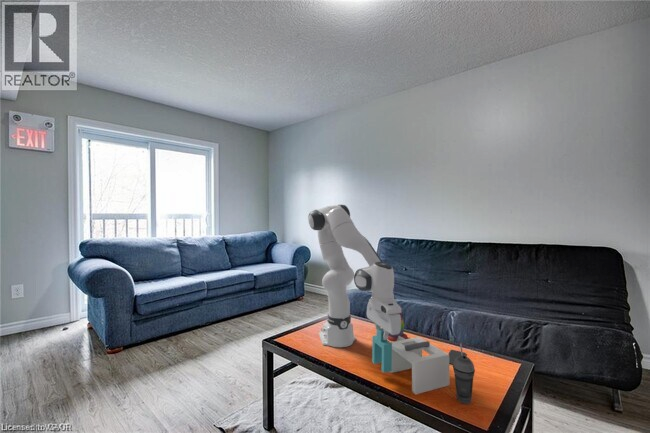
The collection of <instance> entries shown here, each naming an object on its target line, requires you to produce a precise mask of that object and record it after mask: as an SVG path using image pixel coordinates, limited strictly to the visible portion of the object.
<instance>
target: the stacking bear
mask: <svg viewBox="0 0 650 433" xmlns="http://www.w3.org/2000/svg"><path fill="white" fill-rule="evenodd" d="M402 311H403V309H401V313H399V314H400V316H401V331H400V333H399V334H396V335H391V334H390V333H389V334H388V339H387V340H388V341H389V342H395V341H397V338H398V336H400V337H402V338H404V339H409V338H408V335H407V334H406V333H404V331H405V323H404V319H403V316H402Z"/></svg>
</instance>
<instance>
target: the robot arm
mask: <svg viewBox="0 0 650 433" xmlns="http://www.w3.org/2000/svg"><path fill="white" fill-rule="evenodd" d="M307 219H308V224H309V227H310V228H311V229H312V230H313V231H317V238H318V243H319V247H320V252H321V255H322V259H323V260H324V262H326V264H327V266H328V268H329V270H328V271H326V273H325V274H324V275H323V276H322V279H321V285H322V287H323V289H324V290H325V291H326V295H327V299H328V313H327V320H326V321H325V322H324V323H323V324H322V327H321V328H320V329H321V330H320V331H319V332H318V336H319V339H320V341H321V344H322V346H328V347H333V348H347V347H349V346H352V345H353V343H354V342H355V341H356V340H357V337H356V336H355V335H354V326H353V323H352V317H351V314H350V313H351V310H350V308H351V304H350V303H351V302H350V301H351V300H350V299H349V298H348V293H347V286H349V285H350V284H352V282H354V285H355V287H356V288H357V289H358V290H359V291H364V292H371V296H370V298H368V302H367V305H366V317H367V319H369V320H370V321H371V322H373V323H374V326H375V330H376V332H375V334H376V335H377V329H380V328H383V329H384V330H383V331H384V334H382V338H383V339H384V340H388V334H389V333H390V334H391V335H396V334H399V333H400V331H401V317H402V315H400V314H399V313H401V310H402V306H400V305H399V304H398V303H397V301H396V300H395V295H394V288H395V271H394V268H393V266H392V265H391V264H390V263H388V262H384V261H383V260H382V259H381V258H380V256H379V255H378V253H377V251H376V250H375V248H374V247H373V245H372V244H371V243H370V241H369V240H368V239H367V238H366V237H365V235H362V233H361V232H360V231H359V230H358V228H357V227H356V225H355V223H354V222H353V219H352V218H351V212H350V209H349V208H348V206H347V205H345V204H337V205H329V206H326V207H322V208H319V209H313V210H312V211H309V213H308V216H307ZM343 248H346V249H349V250H353V251H356V252H358V253H360V255H362V256H363V258H364V260H365V261H366V263H367V265H368V266H367V267H366V266H365V267H361V268H359V269H357V270H356V271H355V272H354V270H353V268H352V267H351V266H350V265H349V263H348V261H347V258H346V256H345V254H344V251H343ZM401 314H402V313H401Z"/></svg>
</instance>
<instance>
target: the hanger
mask: <svg viewBox="0 0 650 433" xmlns="http://www.w3.org/2000/svg"><path fill="white" fill-rule="evenodd" d="M383 330H384V329H383V328H381V327H380V329H377V334H376V335H372V344H371V345H372V350H371V352H372V354H371V356H372V357H371V360H372V362H371V363H373V364H374V365H375V364H380V363H381V372H382V373H384V374H385V373H391V372H390V371H392V343H391V342H392V341H390V340H388V339H387V340H384V339H383V338H382V334H384V331H383Z"/></svg>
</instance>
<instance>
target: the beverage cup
mask: <svg viewBox="0 0 650 433" xmlns="http://www.w3.org/2000/svg"><path fill="white" fill-rule="evenodd" d="M459 346H460V352H461V356H458V357H457V358H456V359H455V360H454V362H453V365H452V368H453V373H454V383H455V392H456V400H457V401H458V403H461V404H463V405H464V404H465V405H469V404H471V402H472V396H473V388H474V387H473V384H474V376H475V372H476V368H475V364H474V362H473V361H472V360H471V359H470V358H469V357H468V356H467V355H466V356H463V353H462V352H463V345H462V342H460V343H459Z"/></svg>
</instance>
